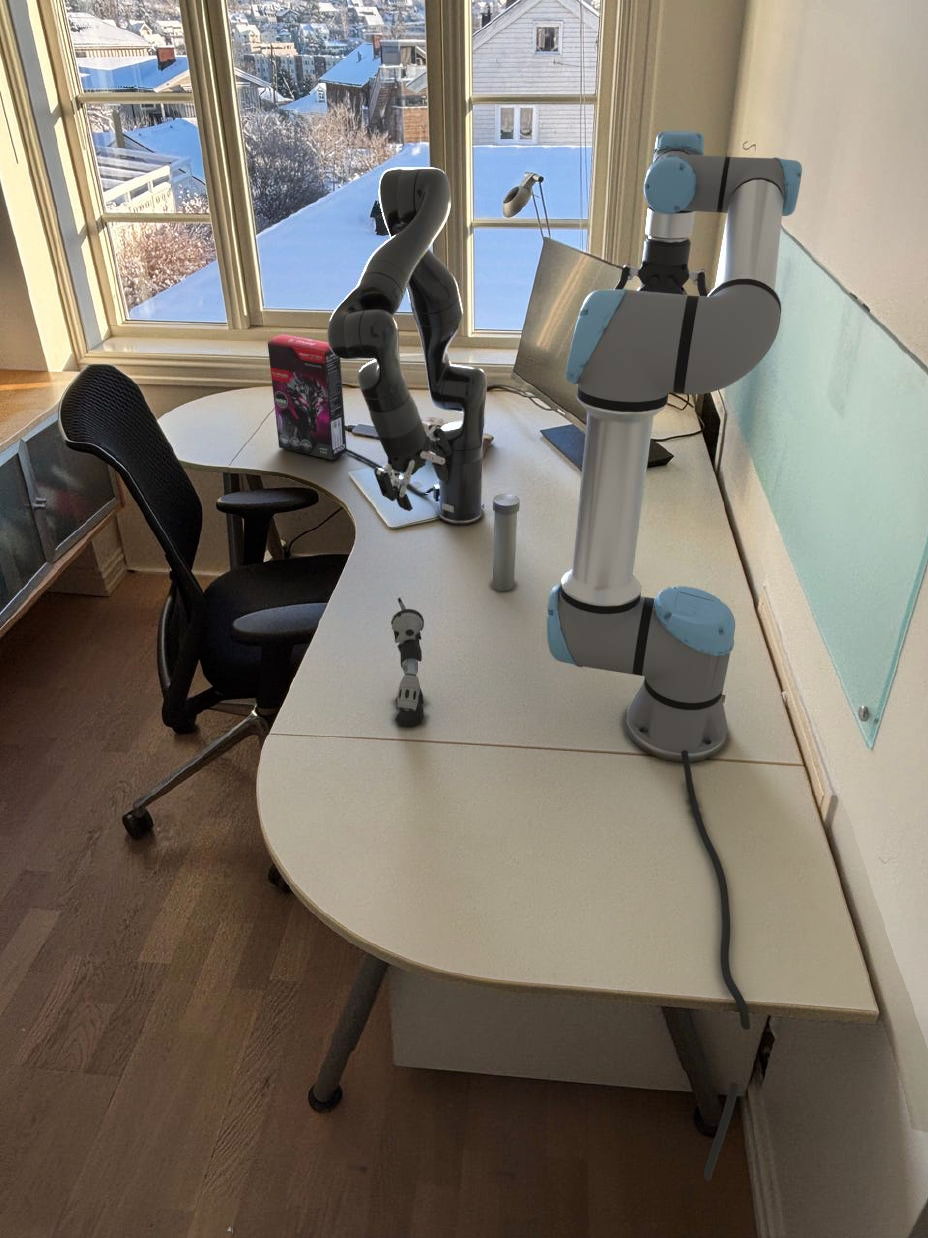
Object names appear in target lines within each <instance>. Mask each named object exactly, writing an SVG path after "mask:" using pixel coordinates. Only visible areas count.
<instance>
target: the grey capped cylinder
mask: <svg viewBox="0 0 928 1238" xmlns="http://www.w3.org/2000/svg"><path fill="white" fill-rule="evenodd" d="M493 515H494V516H493V517H494V519H493V520H494V521H493V550H492V551H493V552H492V554H493V555H492V586H491V587H492V588H493V589H494V590H496V591H499V592H509V591H512V590H513V589H514V587H515V572H516V570H515V568H516V549H517V548H516V547H517V546H516V545H517V529H518V528H517V526H518V512H517V513H515V514H511V515H502V514H498V513H496V512H495V511H494V514H493Z"/></svg>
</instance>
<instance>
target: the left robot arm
mask: <svg viewBox="0 0 928 1238" xmlns="http://www.w3.org/2000/svg"><path fill="white" fill-rule="evenodd" d="M378 197H379V204H380V209H381V212H382V213H381V214H382V217H383V220H384V224H385V226H386V228H387V231H388V234H389V237H390V238H389V239H388V240H386V241H385V242H384V243H383V244H381V245H380V246H379V247H378V248H377V249H376V250H375V251H374V252H373V253H372V254H371V256H370V257H369V259H368V261H367V262H366V265H365V267H364V269H363V272H362V274H361V277H360V279H359V281H358V282H357V283H358V284H357V285H356V287H355V288H354V289H352V290H351V292H349V293H348V295H347V296H346V297H345V298H344V300H342V302H340V303H339V305H338V306H337V307H336V309H335V310H334V311H333V313H332V315H331V317H330V319H329V321H328V324H327V330H326V340H327V342H328V344H329V347H330V349H331V351H332V352H333V353H334V354H335V355H336V356H337V357H339V358H340V359H342V360H351V361H352V360H367V359H368V360H369V359H370V360H371V359H374V360H372V361H370V362H368V363H366V364H365V365H363V366H362V367H361V369H360V370H359V371H358V373H357V384H358V387H359V389H360V393H361V394H362V396H363V399H364V401H365V404H366V407H367V409H368V412H369V418H370V420H371V422H372V425H373V427H374V429H375V433H376V434H377V437H378V439H379V442H380V445H381V446H382V448H383V451H384V453H385V455H386V457H387V464H385V465H384V466H382V465H381V464H379V463H376V462H375V461H374V460H371V459H369V458H367V457H365V456H364V455H362V454H359V453H358V452H355V451H353V450H352V449H349V448H347V452H346V453H347V454H350V455H352V456H355V457H357V458H359V459H361V460H363V461H364V462H367V463H368V464H370V465H372V466H374V467H375V468H374V470H373V473H374V476H375V478H376V482H377V484H378V487H379V490H380V493H381V496H382V497H385V498H386V499H388V500H389V501H391V502H395V501H396V502H397V505H398V507H399V508H401V509H402V510H403V511H408V512H411V511H412V510H413V509H414V508H413V506H412V503H411V501H410V499H409V496H408V494H407V493H406V490H407V487H408V488H409V489H410V490H411V491H412V492H414V493H415V494H417V495H418V496H422V497H423V496H428V495H429V494H431V492H432V493H433V496H432V497H433V499H434V502H437V503H438V517H439V519H440V520H441V521H443V522H445V523H447V524H451V525H456V526H457V525H458V526H463V525H471V524H474V523H476V522H478V521H480V519H481V518H482V516H483V510H482V503H483V502H482V499H483V498H482V497H483V457H482V448H483V432H484V430H485V424H486V423H485V422H486V407H487V394H488V379H487V375H486V373H485V371H484V370H483V369H482V368H480V367H475V366H470V365H462V364H455V363H452V361H450V358H449V354H448V349H449V347H450V345H451V342H452V341H453V339H454V338H455V336H456V335H457V333H458V331H459V329H460V327H461V324H462V322H463V317H464V310H463V305H462V299H461V295H460V290H459V286H458V283H457V280H456V278H455V276H454V275H453V274H452V272H451V271H450V269H449V268H448V267H447V266H446V265H445V264H444V263H443V262H442V261H441V259H439V258H438V257H437V256H436V255H435V254H434V253H433V251H431V249H430V248H431V246H433V244H434V242H435V240H436V239H437V237H438V235H440V233H441V231H442V230H443V228H444V227H445V224H446V222H447V220H448V218H449V215H450V212H451V206H452V188H451V184H450V180H449V177H448V175H447V174H446V172H444V170H443V169H439V168H435V167H393V168H390V169H387V170H385V171H384V172H383V173H382V175H381V177H380V180H379V187H378ZM406 292H407V296H408V301H409V305H410V309H411V313H412V316H413V319H414V322H415V326H416V329H417V332H418V333H417V334H418V337H419V341H420V345H421V349H422V353H423V359H424V365H425V373H426V380H427V385H428V390H429V395H430V399H431V401H432V403H433V405H434V406H435V407H436V408H438V409H440V410H443V411H449V412H454V413H455V412H456V413H460V414H462V419H461V420H455V421H450V422H448V424H445V425H444V426H442V427H441V428H439V427H437V426H435V425H433V424H430V425H429V428H428V429H429V431H428V432H427V433H426V432H425V429H424V426H423V423H422V421H421V419H422V418H421V416H420V412H419V409H418V407H417V405H416V402H415V400H414V398H413V396H412V394H411V392H410V391H409V387H408V384H407V383H406V379H405V377H404V374H403V371H402V364H401V356H400V355H401V354H400V334H399V326H398V324H397V321H396V319H395V317H394V315H395V314H396V313H397V312H398V310H399V308H400V307H401V303H402V301H403V299H404V296H405V293H406ZM484 433H485V432H484ZM430 440H433V441H434V443H435V445H436V446H435V445H434V446H435V448H436V452H432V451H430V447H431V441H430ZM434 443H433V444H434ZM427 461H429V462H431V465H432V467H433V469H434V472H435V475H436V477H437V478H438V484H433V485H432V486H433V487H430V488H429V489H427V490H426V491H425V492H423V491H420V490H418V489H416V487H414V486H413V485H412V484H411V479H412V476H414V475H415V474H416V473H417V471H418V470H419V469H421V468H424V466H426V463H427ZM401 474H403V476H402V475H401ZM425 493H429V494H425Z"/></svg>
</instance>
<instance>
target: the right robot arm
mask: <svg viewBox="0 0 928 1238" xmlns="http://www.w3.org/2000/svg"><path fill="white" fill-rule="evenodd" d="M704 147H705V136H704V135H703V133H701V132H699V131H694V130H684V129H683V130H681V129H680V130H679V129H677V130H676V129H672V130H671V129H670V130H662V131H660V132H659V133H658V134H657V135H656V139H655V144H654V149H653V151H652V153H653V161H652V164H650V166H649V167H648V169H647V171H646V173H645V176H644V183H643V195H644V198H645V201H646V202H647V204H648V208H647V212H646V213H647V214H646V222H645V223H646V224H645V234H646V235H647V236H646V238H645V239H644V243H643V250H642V260H641V265H640V267H636V266H632V265H631V264H630V263H625V264H624V265H623V267H622V269H621V273H620V279H619V281H618V283H617V284H616V285H615V287H614V288H613V289H595V290H593V291H591V292H590V293H589V294H588V295H587V296H586V298H585V299H584V301H583V303H582V305H581V308H580V311H579V313H578V316H577V320H576V323H575V327H574V330H573V335H572V339H571V342H570V346H569V352H568V357H567V362H566V373H565V378H566V381H567V382H568V383H571V384H572V385H574V386H575V385H577V394H576V399H577V401H578V402H579V403H580V404H581V406H582V407H583V408H584V409H585V411H586V412H587V413H586V424H585V435H584V445H583V456H582V467H581V478H580V486H579V487H580V489H579V499H578V509H577V520H576V529H575V530H576V532H575V540H574V551H573V552H574V553H573V563H572V568H571V569H569V570H568V571H567V572H565V573H564V574H563V575H562V577H561V580H560V583H559V584H555V585H554V586H552V588H551V590H550V593H549V597H548V601H547V616H546V639H547V645H548V650H549V652H550V655H551V656H552V658H554V659H555V660H556V661H558V662H560V663H564V664H567V665H568V664H569V665H573V666H576V667H577V668H583V667H584V668H588V669H589V668H591V669H596V670H602V671H607V672H608V671H609V672H614V673H620V674H627V675H633V676H638V677H639V676H640V677H643V682H642V684H641V685H640V688H639V689H638V691H637V692H636V694H635V695H634V697H633V699H632V701H631V702H630V704H629V706H628V708H627V711H626V719H625V728H626V732H627V734H628V736H629V738H630V739H631V741H632V742H634V744H636V745H637V746H638V747H639V748H640V749H641V750H643V751H645V752H646V753H648V754H650V755H651V756H654V757H656V758H659V759H662V760H666V761H670V762H675V763H682V765H683V770H684V771H683V772H684V778H685V783H686V785H685V786H686V790H687V794H688V799H689V803H690V808H691V811H692V814H693V818H694V821H695V824H696V827H697V830H698V833H699V836H700V838H701V840H702V843H703V845H704V847H705V849H706V852H707V853H708V855H709V857H710V860H711V862H712V864H713V867H714V870H715V875H716V877H717V881H718V886H719V887H718V888H719V894H720V907H721V908H720V909H721V939H720V940H721V941H720V955H719V956H720V958H719V959H720V967H721V973H722V977H723V980H724V983H725V985H726V987H727V989H728V991H729V992H730V994H731V996H732V998H733V999H734V1001H735V1004H736V1006H737V1009H738V1013H739V1019H740V1026H741V1028H742V1029H743V1030H745V1031H748V1030H750V1028H751V1021H750V1014H749V1009H748V1006H747V1002H746V1000H745V997H744V996H743V995H742V992H741V991H740V989H739V987H738V986H737V984H736V982H735V981H734V978H733V976H732V972H731V968H730V967H731V966H730V942H731V913H730V899H729V891H728V885H727V884H728V883H727V880H726V876H725V872H724V869H723V865H722V862H721V860H720V857H719V855H718V853H717V851H716V849H715V847H714V845H713V843H712V841H711V838H710V836H709V835H708V831H707V829H706V827H705V826H706V825H705V823H704V821H703V817H702V814H701V812H700V807H699V803H698V800H697V795H696V791H695V787H694V782H693V775H692V769H691V763H694V762H700V761H703V760H706V759H709V758H711V757H714V755H716V754H718V752H720V751H721V750H722V748H723V747H724V744H725V743H726V740H727V739H726V738H727V734H728V721H727V716H726V712H725V708H724V707H725V706H724V704H725V701H726V695H725V694H723V692H724V686H725V682H726V678H727V677H726V676H727V671H728V666H729V661H730V657H731V652H732V651H733V650H734V646H735V638H734V637H735V631H736V620H735V616H734V614H733V612H732V610H731V608H730V607H729V606H728V605H727V604H726V603H724V602H723V601H722V600H721V599H720V598H719V597H717V596H716V595H714V594H712V593H710V592H708V591H706V590H704V589H700V588H697V587H696V588H695V587H692V586H688V585H687V586H686V585H675V586H674V587H670V586H669V587H666V588H664V589H662V590H660V591H659V592H658V593H657V595H656V596H655V597H654V598H653V597H649V596H648V597H647V596H642V590H643V589H642V584H641V581H640V580H639V579H638V578H637V577H636V576H635V575H634V569H635V561H636V553H637V546H638V539H639V530H640V523H641V517H642V516H641V515H642V507H643V501H644V500H643V499H644V493H645V492H644V491H645V485H646V476H647V471H648V470H647V469H648V462H649V454H650V446H651V438H652V433H653V432H652V431H653V424H654V417H655V416H656V415H657V414H659V413H660V412H661V411H663V410H664V409H665V408H666V407H667V406H668V401H669V394H670V393H671V394H672V393H673V394H683V395H704V394H710V393H713V392H717V391H720V390H723V389H725V388H727V387H729V386H731V385H734V384H735V383H736V382H738V381H739V380H741V379H742V378H744V377H745V376H747V374H749V373H750V372H751V371H752V370H754V369H755V368H756V367H757V366H758V364H759V363H760V362H762V360H763V359H764V358H765V357H766V355H767V354H768V353H769V351H770V349H771V348H772V346H773V344H774V343H775V340H776V339H777V336H778V332H779V330H780V326H781V325H780V324H781V319H782V301H781V298H780V296H779V294H778V293H777V291H776V281H777V273H778V272H777V271H778V262H779V261H778V260H779V251H780V241H781V231H782V219H783V217H788V216H791V215H792V214H793V213H794V212H795V210H796V207H797V203H798V198H799V194H800V188H801V181H802V174H803V165H802V164H801V163H800V161H798V160H796V159H795V160H794V159H784V158H780V157H777V156H776V157H745V156H743V157H742V156H721V155H705V153H704V149H705V148H704ZM696 212H701V213H702V212H703V213H719V214H720V213H722V214H726V219H725V225H724V232H723V236H722V237H723V238H722V243H721V250H720V255H719V261H718V267H717V272H716V278H715V285H714V288H713V289H712V290H711V291H710V292H709V288H708V286H707V281H706V280H707V279H706V278H707V271H706V270H705V268H700V269H699V270H689V259H690V252H691V245H692V241H691V239H689V238H690V237H691V236H692V235H693V230H694V224H695V223H694V222H695V215H696ZM635 276H637V277H638V279H639V280H640V282H641V285H640V286H639V287H638V288H637V289H635V290H634V289H628V288H625V287H626V286H627V282H628V281H631V280H633V279H634V277H635ZM689 280H691V281H692V284H693V285H695V286H697V290H698V291H697V292H698V295H693V294H692V295H691V294H688V292H687V290H686V289H685V288H684V285H685V284H686V283H687V282H688V281H689ZM728 1087H729V1088H728V1092H727V1095H726V1099H725V1104H724V1108H723V1111H722V1115H721V1118H720V1121H719V1123H718V1127H717V1131H716V1133H715V1136H714V1139H713V1143H712V1145H711V1149H710V1151H709V1154H708V1158H707V1161H706V1164H705V1168H704V1171H703V1179H704V1180H705V1181H709V1182H710V1181H711V1180H712V1177H713V1173H714V1171H715V1170H714V1169H715V1167H716V1163H717V1161H718V1157H719V1154H720V1151H721V1149H722V1145H723V1143H724V1139H725V1137H726V1133H727V1131H728V1128H729V1124H730V1121H731V1119H732V1115H733V1112H734V1109H735V1104H736V1101H737V1096H738V1092H739V1087H740V1084H739V1083H737V1082H731V1081H730V1082H729V1086H728Z"/></svg>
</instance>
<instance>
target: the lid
mask: <svg viewBox="0 0 928 1238" xmlns="http://www.w3.org/2000/svg"><path fill="white" fill-rule="evenodd" d="M520 502H521V500H520V498H519V497H518V495H515V494H512V493H500V494H497V495H495V496H493V498H492V510H493V512H494V513H495V512H496V513H498V514H502V515H511V514H515V513H517V514H518V512H519V511H520V507H521V505H520V504H521V503H520Z"/></svg>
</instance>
